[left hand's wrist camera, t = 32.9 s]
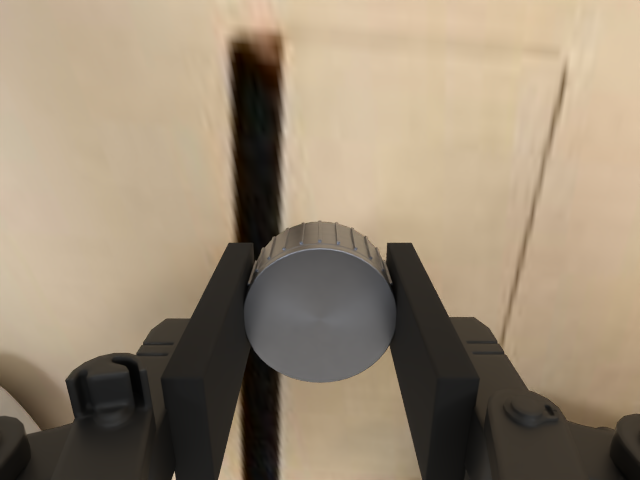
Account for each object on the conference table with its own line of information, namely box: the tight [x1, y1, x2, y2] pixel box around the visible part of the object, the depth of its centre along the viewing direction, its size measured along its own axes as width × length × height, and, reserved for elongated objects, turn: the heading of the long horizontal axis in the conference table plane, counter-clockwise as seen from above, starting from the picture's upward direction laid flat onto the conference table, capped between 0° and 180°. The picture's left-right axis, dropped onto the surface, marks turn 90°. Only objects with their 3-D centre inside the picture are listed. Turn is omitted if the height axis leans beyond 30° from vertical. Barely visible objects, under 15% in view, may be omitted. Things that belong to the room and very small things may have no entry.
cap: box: [244, 221, 397, 383], centre depth 13 cm, size 4×4×2 cm
